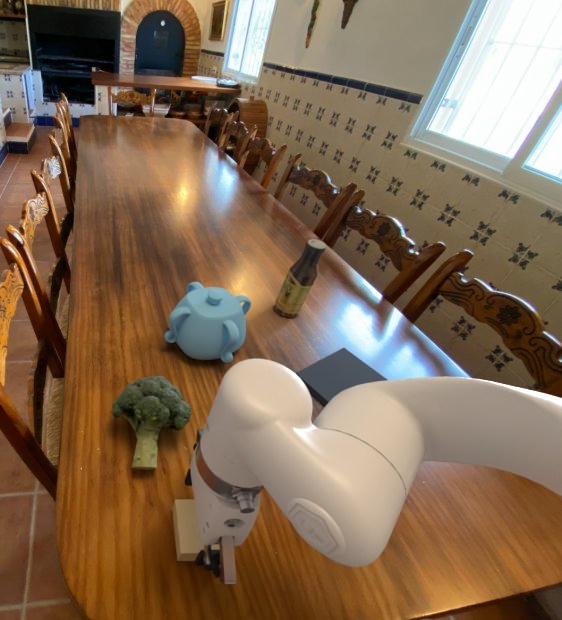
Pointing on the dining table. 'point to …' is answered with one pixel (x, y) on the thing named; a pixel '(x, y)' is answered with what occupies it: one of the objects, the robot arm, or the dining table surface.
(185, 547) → the pad
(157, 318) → the dining table surface
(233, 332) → the decorative pot
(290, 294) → the sauce bottle
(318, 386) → the u-shaped block
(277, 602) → the dining table surface
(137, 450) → the vegetable
